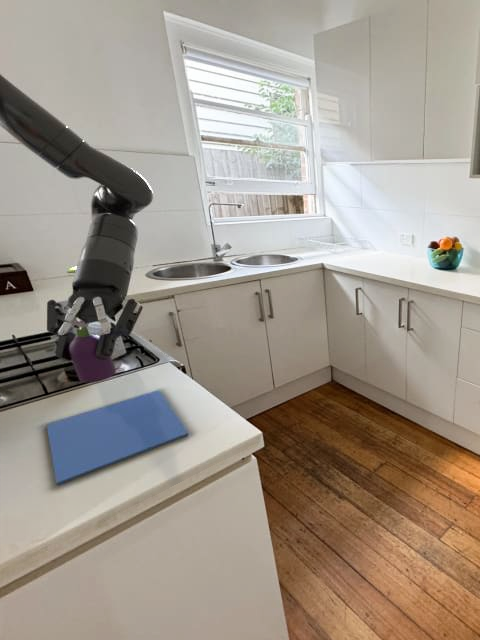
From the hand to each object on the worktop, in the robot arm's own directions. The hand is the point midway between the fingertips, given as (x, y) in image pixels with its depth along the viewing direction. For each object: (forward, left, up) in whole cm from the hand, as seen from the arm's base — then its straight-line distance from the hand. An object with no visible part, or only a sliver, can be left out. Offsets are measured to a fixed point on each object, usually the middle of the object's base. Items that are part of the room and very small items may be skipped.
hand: (83, 358), depth 62 cm
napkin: (0, +1, -15) cm, 15 cm away
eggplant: (0, +2, -4) cm, 5 cm away
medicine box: (-20, +34, -16) cm, 43 cm away
